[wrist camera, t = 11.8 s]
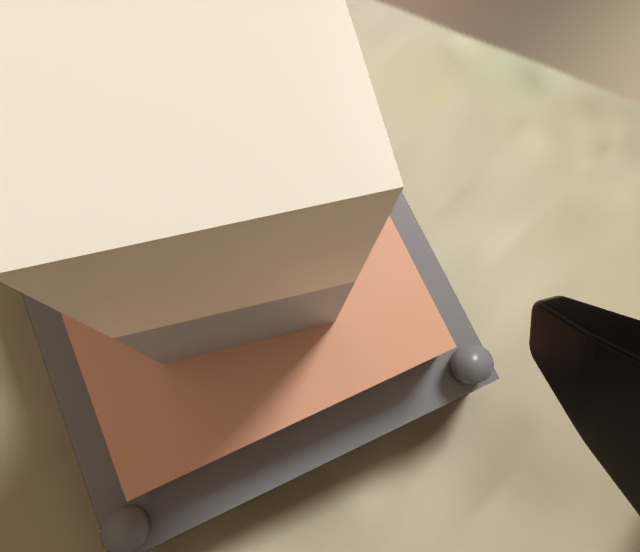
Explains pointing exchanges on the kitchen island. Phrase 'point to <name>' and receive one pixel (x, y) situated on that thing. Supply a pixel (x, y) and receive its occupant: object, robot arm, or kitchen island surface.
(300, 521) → the kitchen island surface
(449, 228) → the kitchen island surface
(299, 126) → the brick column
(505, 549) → the kitchen island surface
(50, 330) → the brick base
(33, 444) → the kitchen island surface
